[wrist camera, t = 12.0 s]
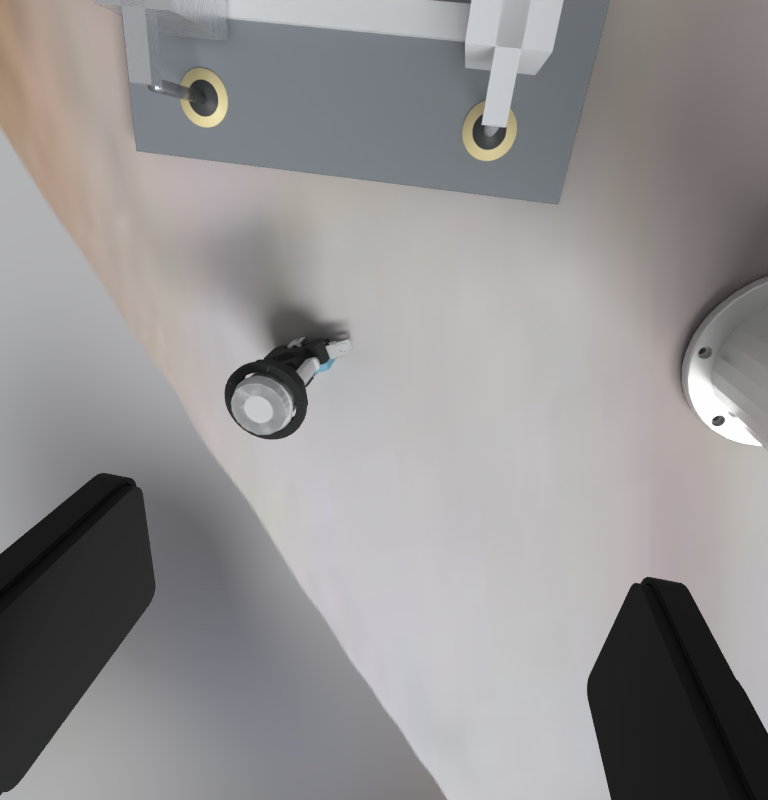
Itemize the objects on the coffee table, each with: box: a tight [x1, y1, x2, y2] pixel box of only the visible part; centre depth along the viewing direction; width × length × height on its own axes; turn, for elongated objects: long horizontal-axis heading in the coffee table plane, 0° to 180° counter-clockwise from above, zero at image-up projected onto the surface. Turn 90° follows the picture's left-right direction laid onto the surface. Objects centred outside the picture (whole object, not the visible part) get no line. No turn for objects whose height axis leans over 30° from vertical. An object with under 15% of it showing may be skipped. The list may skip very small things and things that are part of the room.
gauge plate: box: [122, 0, 610, 204], centre depth 27 cm, size 28×12×8 cm, turn 84°
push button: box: [225, 337, 352, 439], centre depth 34 cm, size 7×5×10 cm
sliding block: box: [94, 0, 228, 104], centre depth 26 cm, size 4×7×6 cm, turn 174°
